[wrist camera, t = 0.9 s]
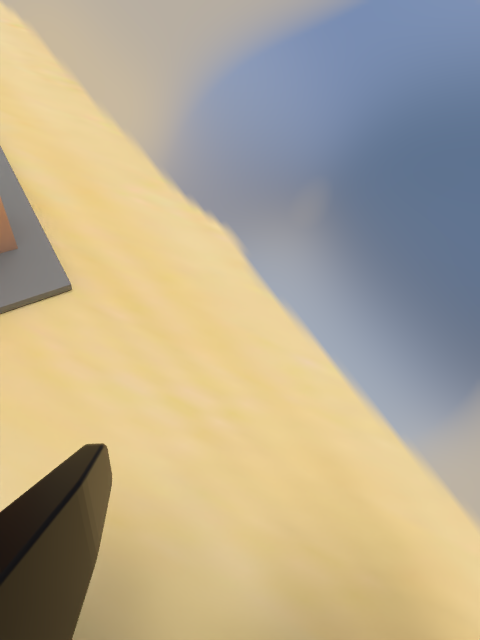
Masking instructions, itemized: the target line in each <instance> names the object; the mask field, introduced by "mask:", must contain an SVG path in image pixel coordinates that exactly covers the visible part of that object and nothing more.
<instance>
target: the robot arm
mask: <svg viewBox="0 0 480 640" xmlns="http://www.w3.org/2000/svg"><path fill="white" fill-rule="evenodd" d="M111 486H112V472H111V466H110V460H109V454H108V449H107V446H106V445H105V444H103V443H102V444H86V445H84V446H83V447H82V448H80V449H79V450H78V451H77V452H75V453H74V454H73V455H72V456H70V457H69V458H68V459H67V460H65V461H64V462H63V463H62V464H60V465H59V466H58V467H56V468H55V469H54V470H53V471H51V472H50V473H49V474H48V475H46V476H45V477H44V478H43V479H41V480H40V481H39V482H38V483H36V484H35V485H34V486H33V487H31V488H30V489H29V490H28V491H26V492H25V493H24V494H23V495H21V496H20V497H19V498H17V499H16V500H15V501H14V502H12V503H11V504H10V505H9V506H7V507H6V508H5V509H4V510H2V511H1V512H0V640H72V637H73V634H74V631H75V628H76V625H77V621H78V618H79V615H80V612H81V609H82V605H83V602H84V599H85V596H86V593H87V589H88V586H89V583H90V580H91V577H92V573H93V570H94V567H95V563H96V560H97V556H98V551H99V547H100V542H101V537H102V532H103V527H104V522H105V517H106V512H107V507H108V501H109V496H110V491H111Z"/></svg>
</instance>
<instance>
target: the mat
mask: <svg viewBox="0 0 480 640" xmlns="http://www.w3.org/2000/svg"><path fill="white" fill-rule="evenodd" d="M0 197H1V200H2V203H3V206H4V209H5V212H6V215H7V218H8V220H9V223H10V226H11V229H12V232H13V235H14V238H15V241H16V244H17V247H18V249H15V250H11V251H7V252H4V253H0V313H3V312H6V311H9V310H12V309H15V308H18V307H21V306H24V305H27V304H30V303H33V302H36V301H39V300H42V299H45V298H48V297H51V296H54V295H57V294H60V293H63V292H66V291H69V290H72V287H71V283H70V281H69V279H68V277H67V275H66V273H65V272H64V270H63V268H62V266H61V264H60V262H59V260H58V258H57V256H56V254H55V252H54V250H53V248H52V246H51V244H50V242H49V240H48V238H47V236H46V234H45V232H44V230H43V229H42V227H41V225H40V223H39V221H38V219H37V217H36V215H35V213H34V211H33V209H32V207H31V205H30V203H29V201H28V199H27V197H26V195H25V193H24V191H23V189H22V187H21V186H20V184H19V182H18V180H17V178H16V176H15V174H14V172H13V170H12V168H11V166H10V164H9V162H8V160H7V158H6V156H5V154H4V152H3V150H2V148H1V146H0Z"/></svg>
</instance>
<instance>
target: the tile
mask: <svg viewBox="0 0 480 640" xmlns="http://www.w3.org/2000/svg"><path fill="white" fill-rule="evenodd" d="M15 249H18V247H17V244H16V241H15V238H14V235H13V232H12V229H11V226H10V223H9V220H8V218H7V215H6V212H5V209H4V206H3V203H2V200H1V197H0V253H4V252H7V251H11V250H15Z"/></svg>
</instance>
